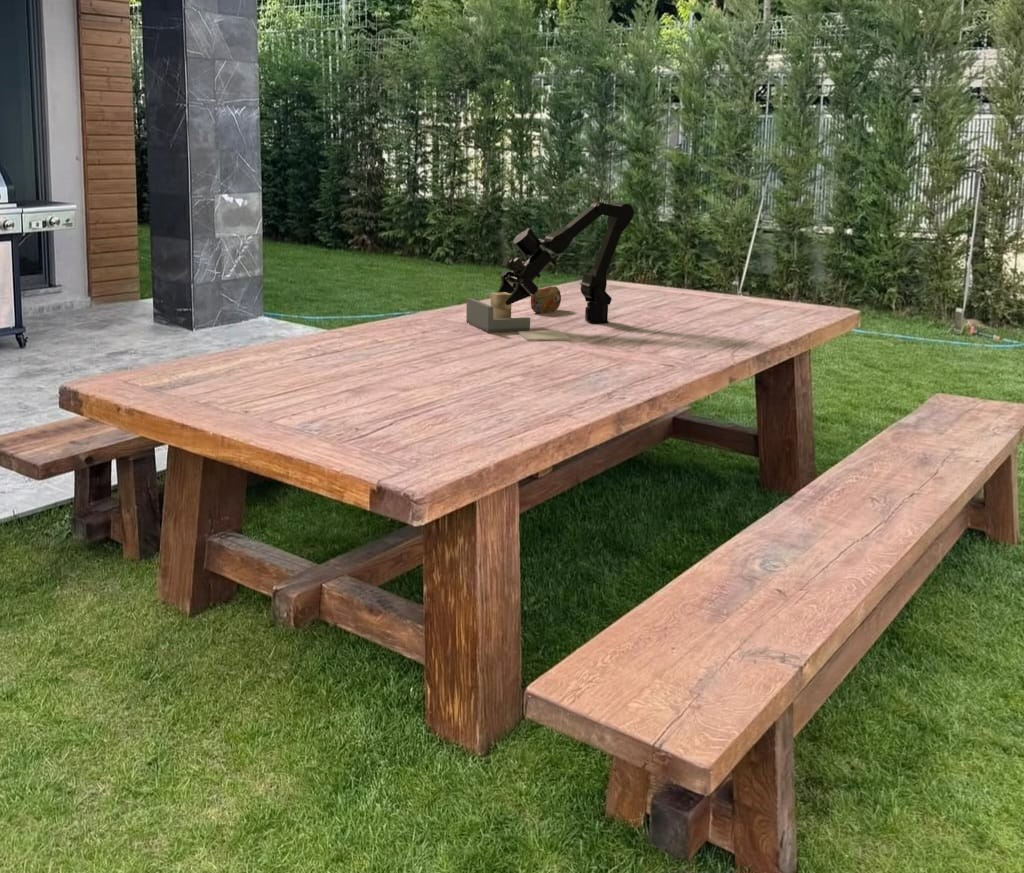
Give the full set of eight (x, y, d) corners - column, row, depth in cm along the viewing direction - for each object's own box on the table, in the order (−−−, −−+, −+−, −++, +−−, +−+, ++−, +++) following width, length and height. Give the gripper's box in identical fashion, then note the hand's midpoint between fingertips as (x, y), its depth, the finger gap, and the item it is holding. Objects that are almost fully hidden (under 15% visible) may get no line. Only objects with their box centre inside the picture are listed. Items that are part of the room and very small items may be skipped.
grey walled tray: (506, 320, 361) (507, 296, 359) (529, 330, 344) (530, 305, 342) (466, 322, 356) (466, 297, 354) (487, 333, 339) (488, 307, 336)
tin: (536, 314, 374) (536, 289, 372) (528, 313, 376) (529, 289, 374) (561, 309, 386) (562, 285, 384) (554, 308, 388) (554, 284, 385)
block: (505, 317, 353) (505, 292, 350) (511, 319, 348) (511, 294, 346) (490, 317, 351) (490, 292, 349) (496, 320, 346) (496, 295, 344)
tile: (558, 332, 343) (558, 330, 342) (569, 340, 330) (569, 338, 330) (517, 333, 340) (517, 331, 340) (527, 341, 328) (527, 339, 327)
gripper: (506, 245, 354) (473, 280, 353) (529, 251, 337) (495, 288, 336) (528, 269, 359) (496, 304, 358) (552, 276, 342) (518, 313, 341)
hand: (500, 301), depth 348 cm, fingers open, 9 cm apart
